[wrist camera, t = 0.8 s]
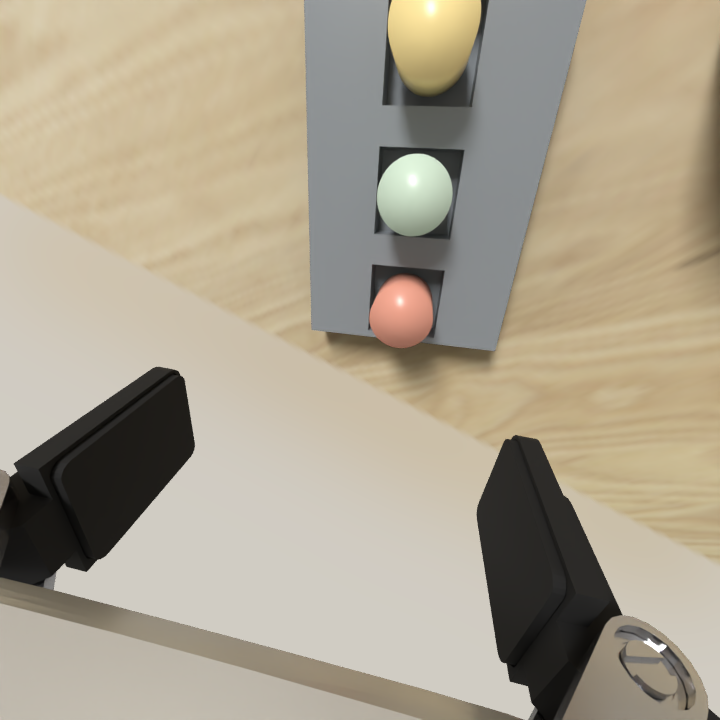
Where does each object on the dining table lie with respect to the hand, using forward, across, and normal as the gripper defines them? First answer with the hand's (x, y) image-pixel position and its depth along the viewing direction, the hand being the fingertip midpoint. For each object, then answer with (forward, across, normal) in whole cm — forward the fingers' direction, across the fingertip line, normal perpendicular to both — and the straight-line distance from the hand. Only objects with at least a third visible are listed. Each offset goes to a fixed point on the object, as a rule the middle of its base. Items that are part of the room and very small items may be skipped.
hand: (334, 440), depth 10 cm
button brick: (+17, -1, +1) cm, 17 cm away
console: (+19, -1, -6) cm, 20 cm away
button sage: (+17, -1, -6) cm, 18 cm away
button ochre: (+17, 0, -13) cm, 21 cm away
